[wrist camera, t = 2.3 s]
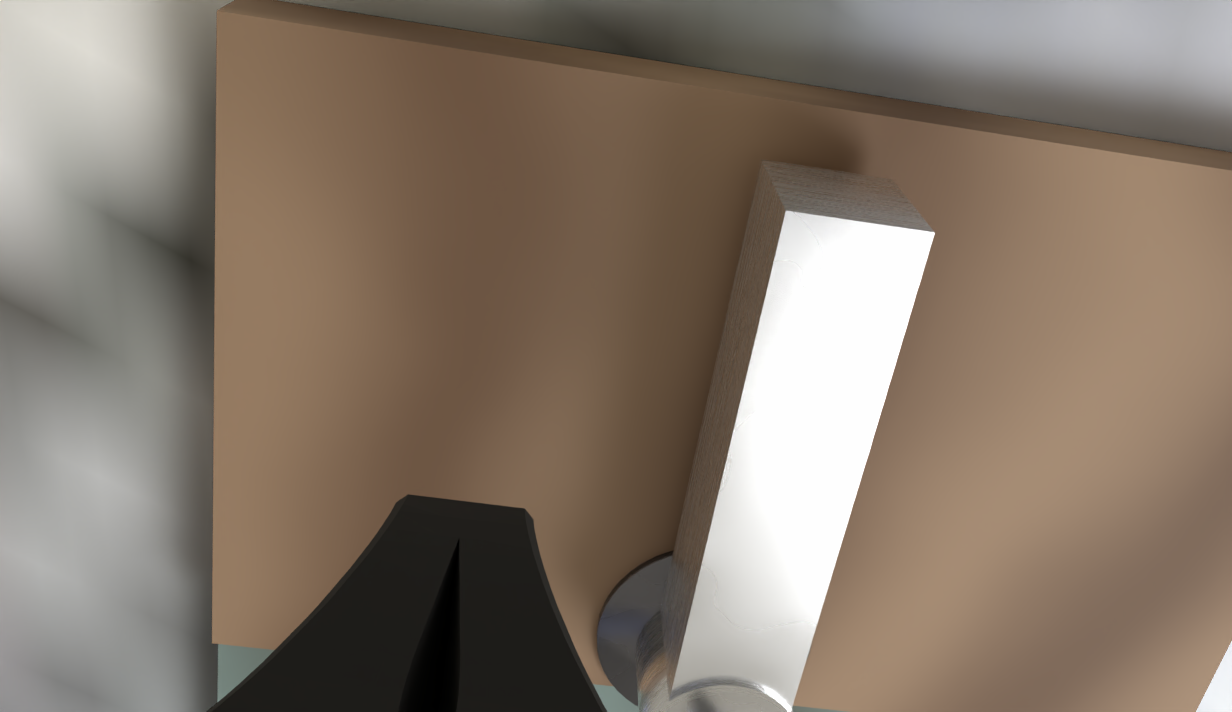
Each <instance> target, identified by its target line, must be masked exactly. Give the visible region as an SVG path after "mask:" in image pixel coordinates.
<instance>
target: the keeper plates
mask: <svg viewBox="0 0 1232 712" xmlns="http://www.w3.org/2000/svg"><path fill="white" fill-rule="evenodd" d="M673 551H674V550H673ZM673 551H669V552H666V553H664V554H661V555H658V556H656V557H654V558H652V559H650V560H648V561H646V562H644V563H642V564H641V565H639V566H638V567H636V568H635V569H633V570H632V571H630V572H629V573H628V574H627V575H626V576H625V577H624V578H623V579H621V580H620V582H619V583H618V584H617V585H616V586H615V587H614V588H613V590H612V591H611V593H610V594H609V596H608V597H607V599H606V601H605V603H604V605H603V607H602V609H601V612H600V616H599V619H598V625H597V652H598V656H599V660H600V663H601V666H602V668H603V671H604V673H605V675H606V676H607V678H608V680H609V681H610V683H611V684H612V685H613V686H614V687H615V689H616V690H617V691H618V692H619V693H620V694H621V695H623V696H624V697H625V698H626V699H627V700H629V701H630V702H631V703H633V704H634V705H636V706H638V692H637V675H636V657H635V649H636V643H637V640H638V636H639V634H640V632H641V630H642V629H643V627H644V626H645V624H646V623H647V622H648V620H649V619H650V618H651V617H652V616H653V615H654V614H656V613H657V612H658V611H659V610H661V605H662V601H663V596H664V592H665V587H666V583H667V578H668V574H669V569H670V565H671V560H672V556H673ZM811 644H812V643H811ZM810 648H811V646H810ZM809 653H810V650H809ZM809 653H808V655H809ZM807 658H808V656H807Z"/></svg>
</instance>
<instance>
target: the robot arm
mask: <svg viewBox="0 0 1232 712" xmlns="http://www.w3.org/2000/svg"><path fill="white" fill-rule="evenodd" d="M207 712H607V710H606V708H605V706H604V705H603V703H602V701H601V699H600V697H599V695H598V693H597V691H596V689H595V687H594V685H593V683H592V682H591V680H590V678H589V676H588V674H587V672H586V670H585V668H584V666H583V663H582V661H581V659H580V657H579V655H578V653H577V651H576V649H575V646H574V644H573V642H572V639H571V637H570V634H569V632H568V630H567V627H566V625H565V623H564V620H563V618H562V616H561V613H560V611H559V608H558V606H557V603H556V601H555V598H554V595H553V593H552V590H551V587H550V584H549V581H548V578H547V575H546V572H545V569H544V566H543V562H542V559H541V555H540V552H539V548H538V544H537V539H536V534H535V529H534V519H533V518H532V517H531V516H530V514H529V513H528V512H527V511H526V509H525V508H517V507H509V506H501V505H492V504H484V503H476V502H468V501H459V500H451V499H443V498H435V497H426V496H418V495H410V494H408V495H406V496H405V497H403V498H402V499H400V500H399V501H397V502H396V503H395V505H394V507H393V509H392V511H391V512H390V514H389V516H388V517H387V519H386V520H385V522H384V523H383V525H382V526H381V528H380V529H379V531H378V532H377V534H376V535H375V536H374V538H373V539H372V540H371V542H370V543H369V545H368V546H367V547H366V548H365V550H364V551H363V552H362V554H361V555H360V556H359V557H358V559H357V560H356V561H355V563H354V564H353V565H352V566H351V568H350V569H349V570H348V571H347V572H346V573H345V575H344V576H343V577H342V578H341V579H340V580H339V582H338V583H337V584H336V585H335V586H334V587H333V589H332V590H331V591H330V592H329V593H328V594H327V596H326V597H325V598H324V599H323V600H322V601H321V603H320V604H319V605H318V606H317V607H316V608H315V609H314V610H313V611H312V613H311V614H310V615H309V616H308V617H307V618H306V619H305V620H304V621H303V622H302V623H301V624H300V625H299V626H298V627H297V628H296V629H295V630H294V631H293V632H292V633H291V634H290V635H289V636H288V637H287V638H286V639H285V640H284V641H283V642H282V643H281V644H280V645H279V646H278V647H277V648H276V649H275V650H274V651H273V652H272V653H271V654H270V655H269V656H268V657H267V658H266V659H265V660H264V661H263V662H262V663H261V664H260V665H259V666H258V667H257V668H256V669H255V670H254V671H253V672H251V673H250V674H249V675H248V676H247V677H246V678H245V679H244V680H243V681H242V682H241V683H239V684H238V685H237V686H236V687H235V688H234V689H233V690H231V691H230V692H229V693H228V694H227V695H226V696H225V697H223V698H222V699H221V700H220V701H219V702H217V703H216V704H215V705H214V706H213V707H211V708H210V709H209V710H208V711H207Z"/></svg>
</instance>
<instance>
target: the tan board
mask: <svg viewBox="0 0 1232 712" xmlns="http://www.w3.org/2000/svg"><path fill="white" fill-rule="evenodd" d="M761 159H762V160H769V161H775V162H782V163H788V164H795V165H802V166H808V167H815V168H821V169H828V170H834V171H841V172H848V173H854V174H861V175H867V176H874V177H880V178H887V179H892V180H893V181H894V182H895V183H896V185H897V186H898V187H899V188H900V190H901V191H902V192H903V193H904V195H905V196H906V197H907V198H908V200H909V201H910V202H911V203H912V205H913V206H914V207H915V208H916V210H917V211H918V212H919V213H920V215H921V216H922V217H923V218H924V220H925V221H926V222H927V223H928V225H929V226H930V227H931V228H932V230H933V231H934V232H935V234H934V237H933V241H932V244H931V247H930V251H929V254H928V257H927V261H926V264H925V267H924V271H923V274H922V277H921V281H920V284H919V287H918V291H917V294H916V297H915V301H914V304H913V307H912V311H911V314H910V317H909V321H908V324H907V327H906V331H905V334H904V337H903V341H902V344H901V347H900V350H899V354H898V357H897V360H896V364H895V367H894V370H893V374H892V377H891V380H890V384H889V387H888V390H887V394H886V397H885V400H884V404H883V407H882V410H881V414H880V417H879V420H878V424H877V427H876V430H875V434H874V437H873V440H872V444H871V447H870V450H869V454H868V457H867V460H866V464H865V467H864V470H863V473H862V477H861V480H860V483H859V487H858V490H857V493H856V497H855V500H854V503H853V507H852V510H851V513H850V517H849V520H848V523H847V527H846V530H845V533H844V537H843V540H842V543H841V547H840V550H839V553H838V557H837V560H836V563H835V567H834V570H833V573H832V577H831V580H830V583H829V587H828V590H827V593H826V596H825V600H824V603H823V606H822V610H821V613H820V616H819V620H818V623H817V626H816V630H815V633H814V636H813V640H812V644H811V648H810V653H809V655H808V658H807V660H806V663H805V666H804V670H803V673H802V676H801V680H800V683H799V686H798V690H797V693H796V696H795V700H794V703H793V706H792V709H793V712H1196V710H1197V708H1198V706H1199V704H1200V702H1201V700H1202V698H1203V696H1204V694H1205V692H1206V690H1207V688H1208V686H1209V684H1210V682H1211V680H1212V678H1213V676H1214V674H1215V672H1216V670H1217V668H1218V666H1219V664H1220V662H1221V661H1222V659H1223V657H1224V655H1225V653H1226V651H1227V649H1228V647H1229V645H1230V643H1231V641H1232V152H1226V151H1219V150H1213V149H1207V148H1201V147H1194V146H1188V145H1182V144H1175V143H1169V142H1163V141H1157V140H1150V139H1144V138H1138V137H1132V136H1125V135H1119V134H1113V133H1106V132H1100V131H1094V130H1088V129H1081V128H1075V127H1069V126H1062V125H1056V124H1050V123H1044V122H1037V121H1031V120H1025V119H1018V118H1012V117H1006V116H1000V115H993V114H987V113H981V112H974V111H968V110H962V109H956V108H949V107H943V106H937V105H930V104H924V103H918V102H912V101H905V100H899V99H893V98H886V97H880V96H874V95H868V94H861V93H855V92H849V91H842V90H836V89H830V88H824V87H817V86H811V85H805V84H798V83H792V82H786V81H780V80H773V79H767V78H761V77H755V76H748V75H742V74H736V73H729V72H723V71H717V70H711V69H704V68H698V67H692V66H685V65H679V64H673V63H667V62H660V61H654V60H648V59H641V58H635V57H629V56H623V55H616V54H610V53H604V52H597V51H591V50H585V49H579V48H572V47H566V46H560V45H553V44H547V43H541V42H535V41H528V40H522V39H516V38H509V37H503V36H497V35H491V34H484V33H478V32H472V31H465V30H459V29H453V28H447V27H440V26H434V25H428V24H422V23H415V22H409V21H403V20H396V19H390V18H384V17H378V16H371V15H365V14H359V13H352V12H346V11H340V10H334V9H327V8H321V7H315V6H308V5H302V4H296V3H290V2H283V1H277V0H234V1H233V2H231V3H229V4H227V5H226V6H224V7H222V8H221V9H219V10H217V41H216V173H215V305H214V437H213V569H212V643H214V644H218V694H217V702H219V701H220V700H221V699H222V698H223V697H225V696H226V695H227V694H228V693H229V692H230V691H231V690H233V689H234V688H235V687H236V686H237V685H238V684H239V683H241V682H242V681H243V680H244V679H245V678H246V677H247V676H248V675H249V674H250V673H251V672H253V671H254V670H255V669H256V668H257V667H258V666H259V665H260V664H261V663H262V662H263V661H264V660H265V659H266V658H267V657H268V656H269V655H270V654H271V653H272V652H273V651H274V650H275V649H276V648H277V647H278V646H279V645H280V644H281V643H282V642H283V641H284V640H285V639H286V638H287V637H288V636H289V635H290V634H291V633H292V632H293V631H294V630H295V629H296V628H297V627H298V626H299V625H300V624H301V623H302V622H303V621H304V620H305V619H306V618H307V617H308V616H309V615H310V614H311V613H312V611H313V610H314V609H315V608H316V607H317V606H318V605H319V604H320V603H321V601H322V600H323V599H324V598H325V597H326V596H327V594H328V593H329V592H330V591H331V590H332V589H333V587H334V586H335V585H336V584H337V583H338V582H339V580H340V579H341V578H342V577H343V576H344V575H345V573H346V572H347V571H348V570H349V569H350V568H351V566H352V565H353V564H354V563H355V561H356V560H357V559H358V557H359V556H360V555H361V554H362V552H363V551H364V550H365V548H366V547H367V546H368V545H369V543H370V542H371V540H372V539H373V538H374V536H375V535H376V534H377V532H378V531H379V529H380V528H381V526H382V525H383V523H384V522H385V520H386V519H387V517H388V516H389V514H390V512H391V511H392V509H393V507H394V505H395V503H396V502H397V501H399V500H400V499H402V498H403V497H405V496H406V495H408V494H410V495H418V496H426V497H435V498H443V499H451V500H459V501H468V502H476V503H484V504H492V505H501V506H509V507H517V508H525V509H526V511H527V512H528V513H529V514H530V516H531V517H532V518H533V519H534V529H535V534H536V539H537V544H538V548H539V552H540V555H541V559H542V562H543V566H544V569H545V572H546V575H547V578H548V581H549V584H550V587H551V590H552V593H553V595H554V598H555V601H556V603H557V606H558V608H559V611H560V613H561V616H562V618H563V620H564V623H565V625H566V627H567V630H568V632H569V634H570V637H571V639H572V642H573V644H574V646H575V649H576V651H577V653H578V655H579V657H580V659H581V661H582V663H583V666H584V668H585V670H586V672H587V674H588V676H589V678H590V680H591V682H592V683H593V685H594V687H595V689H596V691H597V693H598V695H599V697H600V699H601V701H602V703H603V705H604V706H605V708H606V710H607V712H639V709H638V706H636V705H634V704H633V703H631V702H630V701H629V700H627V699H626V698H625V697H624V696H623V695H621V694H620V693H619V692H618V691H617V690H616V689H615V687H614V686H613V685H612V684H611V683H610V681H609V680H608V678H607V676H606V675H605V673H604V671H603V668H602V666H601V663H600V660H599V656H598V652H597V625H598V619H599V616H600V612H601V609H602V607H603V605H604V603H605V601H606V599H607V597H608V596H609V594H610V593H611V591H612V590H613V588H614V587H615V586H616V585H617V584H618V583H619V582H620V580H621V579H623V578H624V577H625V576H626V575H627V574H628V573H629V572H630V571H632V570H633V569H635V568H636V567H638V566H639V565H641V564H642V563H644V562H646V561H648V560H650V559H652V558H654V557H656V556H658V555H661V554H664V553H666V552H669V551H673V550H674V547H675V542H676V538H677V534H678V529H679V525H680V520H681V516H682V511H683V507H684V502H685V498H686V493H687V489H688V484H689V480H690V475H691V471H692V466H693V462H694V457H695V453H696V448H697V444H698V439H699V435H700V431H701V426H702V422H703V417H704V413H705V408H706V404H707V399H708V395H709V390H710V386H711V381H712V377H713V372H714V368H715V363H716V359H717V354H718V350H719V345H720V341H721V336H722V332H723V328H724V323H725V319H726V314H727V310H728V305H729V301H730V296H731V292H732V287H733V283H734V278H735V274H736V269H737V265H738V260H739V256H740V251H741V247H742V242H743V238H744V233H745V229H746V225H747V220H748V216H749V211H750V207H751V202H752V198H753V193H754V189H755V184H756V180H757V175H758V171H759V166H760V162H761Z"/></svg>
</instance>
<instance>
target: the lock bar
mask: <svg viewBox="0 0 1232 712" xmlns="http://www.w3.org/2000/svg"><path fill="white" fill-rule="evenodd" d="M934 234H935V232H934V231H933V230H932V228H931V227H930V226H929V225H928V223H927V222H926V221H925V220H924V218H923V217H922V216H921V215H920V213H919V212H918V211H917V210H916V208H915V207H914V206H913V205H912V203H911V202H910V201H909V200H908V198H907V197H906V196H905V195H904V193H903V192H902V191H901V190H900V188H899V187H898V186H897V185H896V183H895V182H894V181H893V180H892V179H887V178H880V177H874V176H867V175H861V174H854V173H848V172H841V171H834V170H828V169H821V168H815V167H808V166H802V165H795V164H788V163H782V162H775V161H769V160H762V159H761V162H760V166H759V171H758V175H757V180H756V184H755V189H754V193H753V198H752V202H751V207H750V211H749V216H748V220H747V225H746V229H745V233H744V238H743V242H742V247H741V251H740V256H739V260H738V265H737V269H736V274H735V278H734V283H733V287H732V292H731V296H730V301H729V305H728V310H727V314H726V319H725V323H724V328H723V332H722V336H721V341H720V345H719V350H718V354H717V359H716V363H715V368H714V372H713V377H712V381H711V386H710V390H709V395H708V399H707V404H706V408H705V413H704V417H703V422H702V426H701V431H700V435H699V439H698V444H697V448H696V453H695V457H694V462H693V466H692V471H691V475H690V480H689V484H688V489H687V493H686V498H685V502H684V507H683V511H682V516H681V520H680V525H679V529H678V534H677V538H676V542H675V547H674V551H673V556H672V560H671V565H670V569H669V574H668V578H667V583H666V587H665V592H664V596H663V601H662V605H661V610H659V611H658V612H657V613H656V614H654V615H653V616H652V617H651V618H650V619H649V620H648V622H647V623H646V624H645V626H644V627H643V629H642V630H641V632H640V634H639V636H638V640H637V643H636V649H635V657H636V675H637V692H638V709H639V712H793V709H792V706H793V703H794V700H795V696H796V693H797V690H798V686H799V683H800V680H801V676H802V673H803V670H804V666H805V663H806V660H807V656H808V653H809V650H810V646H811V643H812V640H813V636H814V633H815V630H816V626H817V623H818V620H819V616H820V613H821V610H822V606H823V603H824V600H825V596H826V593H827V590H828V587H829V583H830V580H831V577H832V573H833V570H834V567H835V563H836V560H837V557H838V553H839V550H840V547H841V543H842V540H843V537H844V533H845V530H846V527H847V523H848V520H849V517H850V513H851V510H852V507H853V503H854V500H855V497H856V493H857V490H858V487H859V483H860V480H861V477H862V473H863V470H864V467H865V464H866V460H867V457H868V454H869V450H870V447H871V444H872V440H873V437H874V434H875V430H876V427H877V424H878V420H879V417H880V414H881V410H882V407H883V404H884V400H885V397H886V394H887V390H888V387H889V384H890V380H891V377H892V374H893V370H894V367H895V364H896V360H897V357H898V354H899V350H900V347H901V344H902V341H903V337H904V334H905V331H906V327H907V324H908V321H909V317H910V314H911V311H912V307H913V304H914V301H915V297H916V294H917V291H918V287H919V284H920V281H921V277H922V274H923V271H924V267H925V264H926V261H927V257H928V254H929V251H930V247H931V244H932V241H933V237H934Z"/></svg>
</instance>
